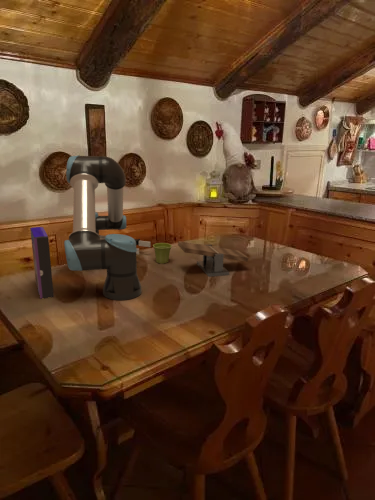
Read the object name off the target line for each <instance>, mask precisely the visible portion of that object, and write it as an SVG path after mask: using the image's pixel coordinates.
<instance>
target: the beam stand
mask: <svg viewBox="0 0 375 500" xmlns="http://www.w3.org/2000/svg"><path fill="white" fill-rule="evenodd" d="M205 245H206V246H213V244H205ZM223 257H224V254H223V253H220V254H214V257H212V256H205V255H202V260H197V261H196V265H197V266H198V267H199V269H200V270H202V271H203V272H204V273H205V275H207V277H209V278H210V277H220V276H230V271H229V270H227V268H226V267H225V266H224V258H223Z"/></svg>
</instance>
